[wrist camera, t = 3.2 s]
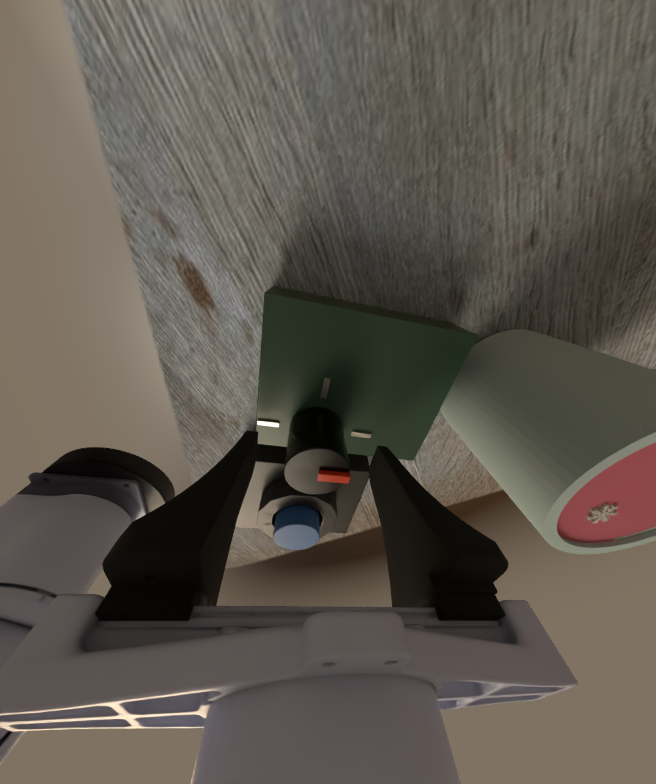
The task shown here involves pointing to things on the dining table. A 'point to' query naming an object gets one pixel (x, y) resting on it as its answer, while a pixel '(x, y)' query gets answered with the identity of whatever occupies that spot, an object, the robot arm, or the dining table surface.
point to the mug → (563, 437)
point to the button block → (298, 494)
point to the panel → (355, 370)
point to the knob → (316, 452)
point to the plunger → (296, 527)
